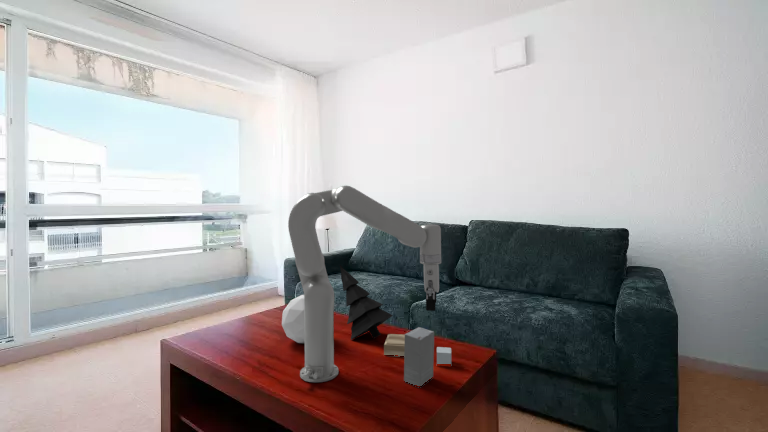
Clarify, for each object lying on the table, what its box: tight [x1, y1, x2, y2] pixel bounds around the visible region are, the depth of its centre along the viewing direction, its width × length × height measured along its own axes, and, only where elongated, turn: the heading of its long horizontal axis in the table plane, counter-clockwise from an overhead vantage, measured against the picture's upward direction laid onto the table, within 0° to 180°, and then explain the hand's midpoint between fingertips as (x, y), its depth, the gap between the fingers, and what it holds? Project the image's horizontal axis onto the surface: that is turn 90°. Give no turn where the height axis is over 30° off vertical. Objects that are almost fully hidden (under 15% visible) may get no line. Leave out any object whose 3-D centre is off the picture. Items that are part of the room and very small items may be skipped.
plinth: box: [383, 333, 405, 357], centre depth 141 cm, size 12×12×4 cm
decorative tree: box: [339, 264, 393, 341], centre depth 158 cm, size 15×15×35 cm
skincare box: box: [403, 326, 435, 387], centre depth 115 cm, size 8×7×16 cm
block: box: [436, 346, 452, 365], centre depth 128 cm, size 5×5×5 cm
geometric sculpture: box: [281, 294, 305, 344], centre depth 150 cm, size 19×20×20 cm
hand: (431, 306), depth 130 cm, fingers open, 9 cm apart
